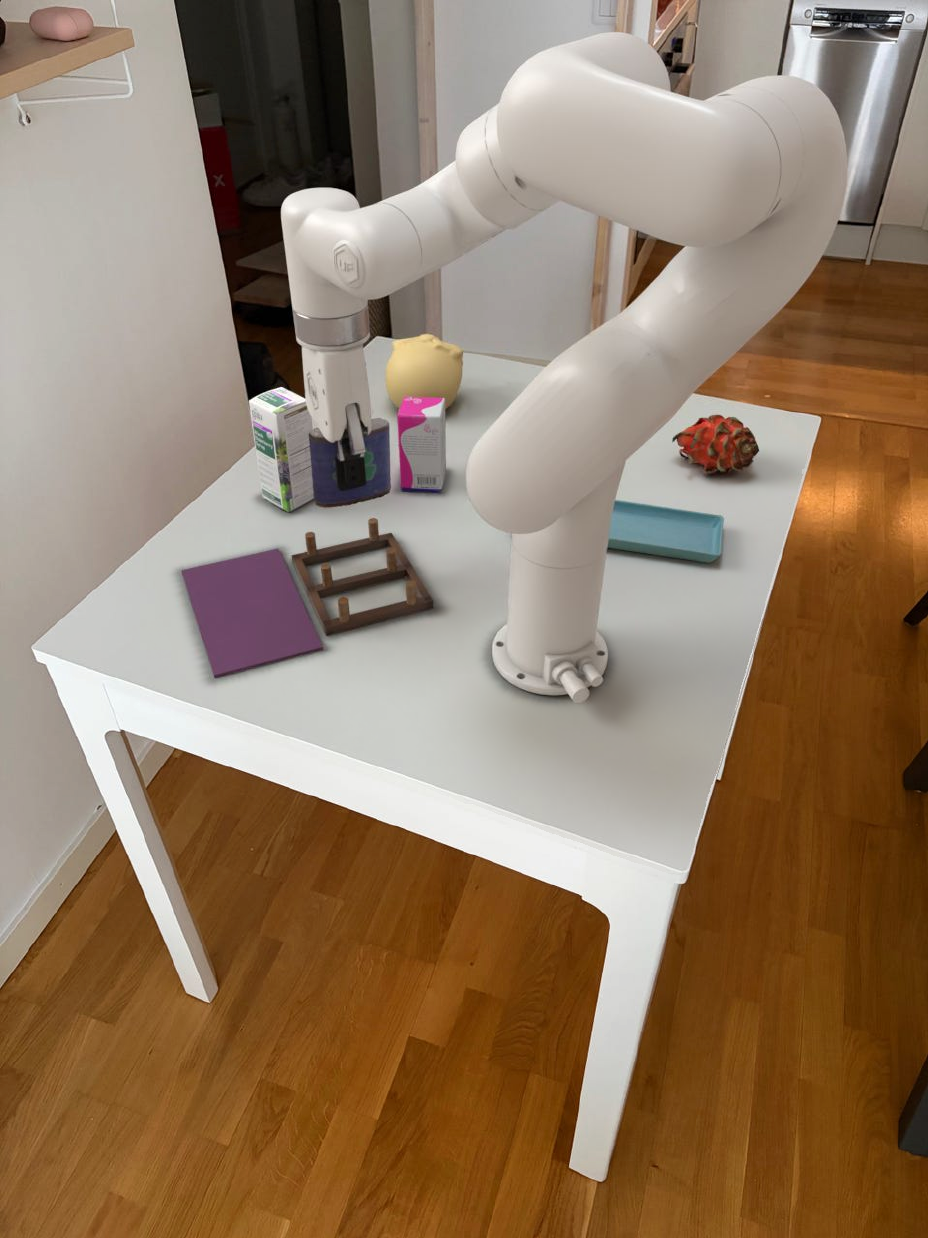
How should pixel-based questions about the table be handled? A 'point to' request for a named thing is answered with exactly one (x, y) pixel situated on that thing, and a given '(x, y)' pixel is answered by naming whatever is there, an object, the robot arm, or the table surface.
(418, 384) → the sculpture
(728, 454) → the dragon fruit
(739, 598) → the table surface
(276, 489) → the syrup box
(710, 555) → the teal serving tray
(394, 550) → the dish rack
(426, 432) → the supplement box
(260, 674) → the table surface
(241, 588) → the mat
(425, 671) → the table surface
